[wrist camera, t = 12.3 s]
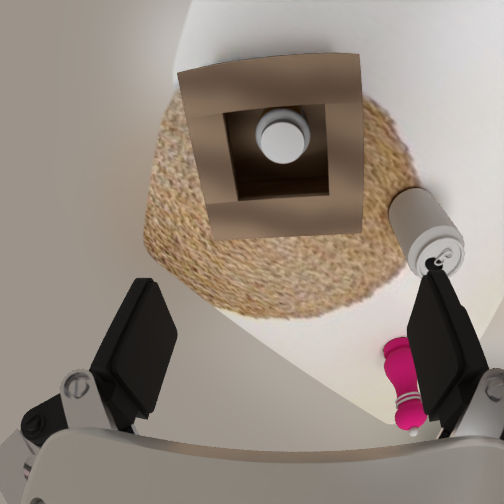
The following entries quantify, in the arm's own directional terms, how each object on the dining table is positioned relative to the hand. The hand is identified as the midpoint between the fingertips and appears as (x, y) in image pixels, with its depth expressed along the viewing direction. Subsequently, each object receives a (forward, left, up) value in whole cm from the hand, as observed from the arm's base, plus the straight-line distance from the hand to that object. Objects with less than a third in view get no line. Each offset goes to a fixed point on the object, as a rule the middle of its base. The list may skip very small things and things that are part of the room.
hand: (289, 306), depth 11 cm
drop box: (0, -1, -30) cm, 30 cm away
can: (+13, +16, -30) cm, 37 cm away
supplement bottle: (0, -1, -30) cm, 30 cm away
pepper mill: (+44, +19, -30) cm, 57 cm away
